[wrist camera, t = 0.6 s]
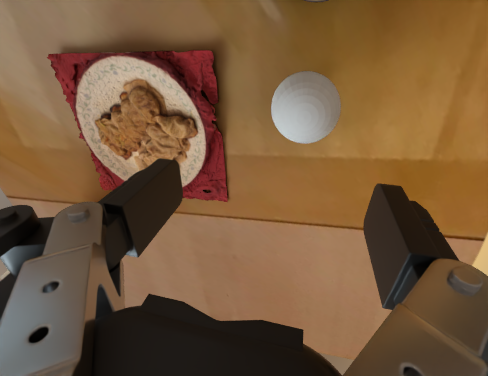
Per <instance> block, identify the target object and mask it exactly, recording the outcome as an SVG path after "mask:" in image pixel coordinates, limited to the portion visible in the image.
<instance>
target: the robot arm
mask: <svg viewBox="0 0 488 376" xmlns="http://www.w3.org/2000/svg"><path fill="white" fill-rule="evenodd" d="M182 198H183V188H182V181H181V174H180V167H179V163H178V162H177V161H176V160H171V159H162V158H159V159H157V160H156V161H154V162H153V163H152V164H151V165H150V166H148V167H147V168H145V169H143V170H141V171H138V172H136V173H135V174H133V175H132V176H131V177H129V178H128V180H126V181H124V182H123V183H122V184H121V186H118V187H117V188H115V189H114V190H113V191H112V192H110V193H109V194H108V195H106V196H105V197H104V198H103V199H101V200H100V201H99V202H82V203H78V204H74V205H72V206H69V207H67V208H65V209H63V210H62V211H60V212H59V213H58V214H57V215H56V216H55V217H47V218H38V217H37V215H36V213H35V212H34V210H33V208H32V207H31V206H27V205H17V206H11V207H7V208H4V209H1V210H0V259H1V260H2V262H3V263H4V265H5V266H6V267H7V269H8V270H9V271H10V273H9V274H8V275H7V276H6V277H4V278H3V279H2V280H1V281H0V376H342V375H341V374H340V373H339V372H338V370H336V368H335V367H334V366H333V365H332V364H331V363H330V362H329V361H327V360H326V359H325V358H324V357H323V356H321V355H320V354H319V353H317V352H316V351H314V350H313V349H312V348H310V347H308V346H306V345H304V344H303V330H302V329H298V328H294V327H289V326H285V325H281V324H277V323H272V322H268V321H264V320H243V321H218V320H215V319H213V318H211V317H210V316H208V315H206V314H204V313H202V312H201V311H199V310H197V309H195V308H193V307H192V306H190V305H188V304H186V303H185V302H182V301H178V300H173V299H169V298H165V297H160V296H156V295H152V294H148V296H147V298H146V299H145V301H144V302H143V304H142V305H141V306H134V307H128V308H125V295H124V269H123V262H122V258H123V257H124V256H125V255H129V256H134V257H139V256H140V255H141V253H142V252H143V251H144V249H145V248H146V247H147V246H148V244H149V243H150V242H151V241H152V239H153V238H154V237H155V235H156V234H157V233H158V232H159V230H160V229H161V228H162V227H163V225H164V224H165V223H166V222H167V220H168V219H169V218H170V216H171V215H172V214H173V213H174V211H175V210H176V209H177V208H178V206H179V205H180V203H181V201H182ZM364 235H365V239H366V243H367V247H368V251H369V255H370V259H371V263H372V267H373V271H374V275H375V279H376V283H377V287H378V291H379V295H380V299H381V303H382V307H383V308H385V309H390V310H392V312H391V313H390V314H389V315H388V317H387V318H386V319H385V321H384V322H383V323H382V325H381V326H380V327H379V329H378V330H377V331H376V333H375V334H374V335H373V336H372V338H371V339H370V340H369V342H368V343H367V344H366V346H365V347H364V348H363V350H362V351H361V352H360V354H359V355H358V356H357V357H356V359H355V360H354V361H353V363H352V364H351V365H350V367H349V368H348V369H347V371H346V372H345V373H344V375H343V376H488V276H487V275H485V274H484V273H483V272H481V271H480V270H478V269H476V268H474V267H473V266H471V265H468V264H466V263H463V262H461V261H459V260H458V258H457V257H456V255H455V253H454V252H453V250H452V249H451V247H450V246H449V244H448V242H447V241H446V239H445V238H444V236H443V235H442V233H441V232H439V228H438V227H437V225H436V224H435V223H434V220H433V219H432V217H431V216H430V214H429V213H428V211H427V210H426V209H424V208H423V207H422V206H421V205H419V204H418V203H417V202H416V201H409V199H408V197H407V195H406V194H405V192H404V190H403V188H402V187H401V186H396V185H387V184H377V185H376V186H375V188H374V191H373V194H372V197H371V200H370V203H369V206H368V209H367V212H366V215H365V219H364Z"/></svg>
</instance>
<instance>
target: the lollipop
mask: <svg viewBox="0 0 488 376" xmlns="http://www.w3.org/2000/svg"><path fill="white" fill-rule="evenodd" d="M340 108H341V104H340V97H339V94H338V91H337V89H336V87H335V86H334V84H333V83H332V82H331V81H330V80H329V79H328V78H326V77H325V76H324V75H321V74H319V73H317V72H311V71H302V72H298V73H295V74H292V75H290V76H288V77H287V78H286V79H285V80H283V81H282V82H281V84H280V85H279V86H278V87H277V89H276V91H275V93H274V96H273V99H272V105H271V113H272V118H273V121H274V124H275V126H276V127H277V129H278V130H279V132H280V133H281V134H282V135H283V136H285V137H286V138H288V139H289V140H292V141H294V142H298V143H312V142H316V141H319V140H321V139H322V138H324V137H326V136H327V135H328V134H329V133H330V132H331V131H332V130H333V129H334V127H335V125H336V124H337V122H338V119H339V115H340Z"/></svg>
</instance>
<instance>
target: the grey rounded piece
mask: <svg viewBox="0 0 488 376" xmlns="http://www.w3.org/2000/svg"><path fill="white" fill-rule="evenodd" d="M305 1H309V2H324V1H328V0H305Z"/></svg>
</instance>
